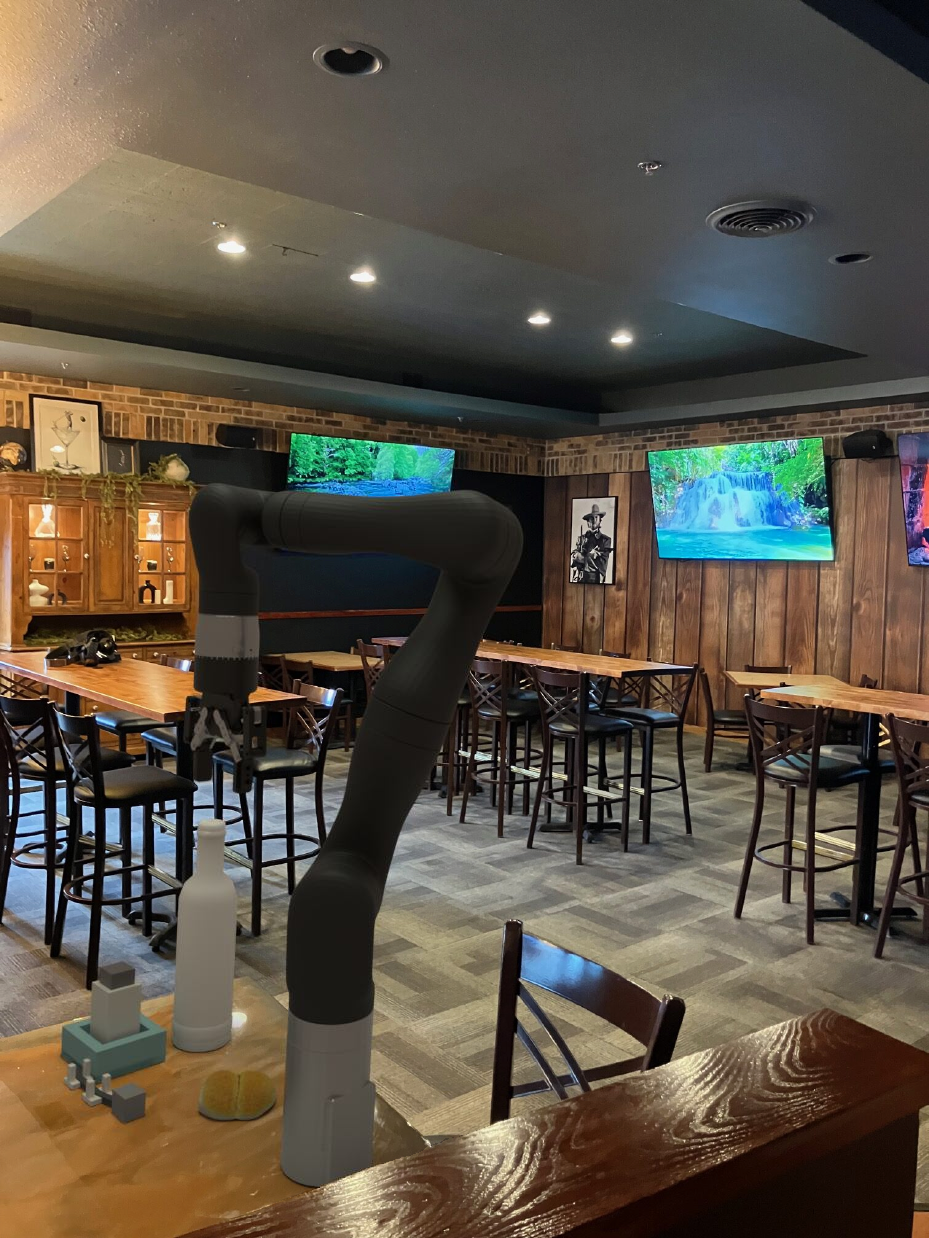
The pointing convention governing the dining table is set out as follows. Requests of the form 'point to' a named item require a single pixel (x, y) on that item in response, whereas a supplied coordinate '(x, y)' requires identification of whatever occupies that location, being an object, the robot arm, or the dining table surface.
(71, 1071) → the cable run
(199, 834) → the bottle
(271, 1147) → the dining table surface
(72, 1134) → the dining table surface
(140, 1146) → the dining table surface
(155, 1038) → the end socket
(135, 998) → the block
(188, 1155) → the dining table surface
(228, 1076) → the bread roll
